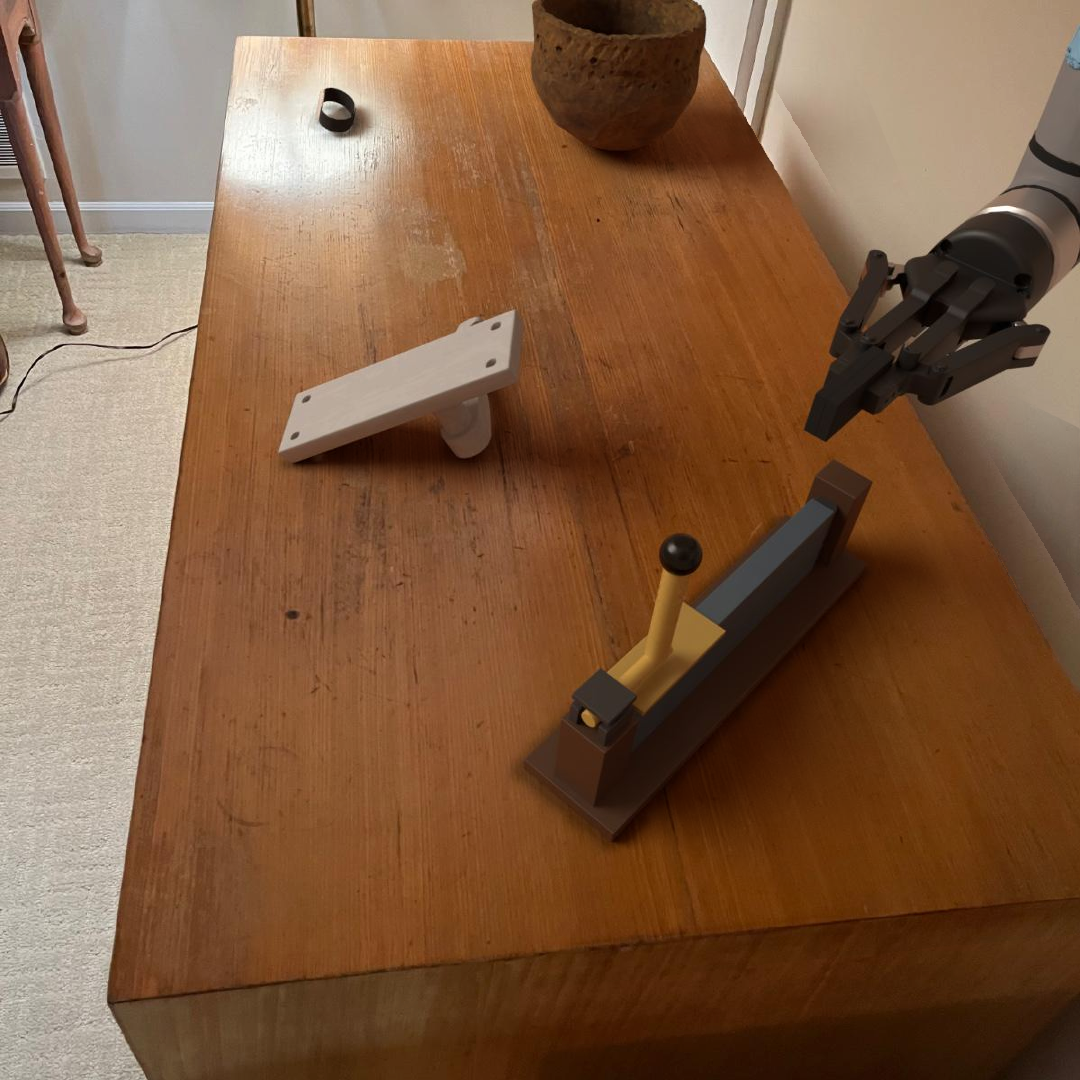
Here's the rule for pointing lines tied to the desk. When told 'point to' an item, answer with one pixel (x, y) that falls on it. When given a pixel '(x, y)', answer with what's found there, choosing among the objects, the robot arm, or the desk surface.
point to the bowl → (617, 66)
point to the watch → (341, 99)
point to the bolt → (663, 609)
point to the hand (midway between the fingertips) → (821, 417)
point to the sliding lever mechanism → (704, 661)
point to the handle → (413, 391)
